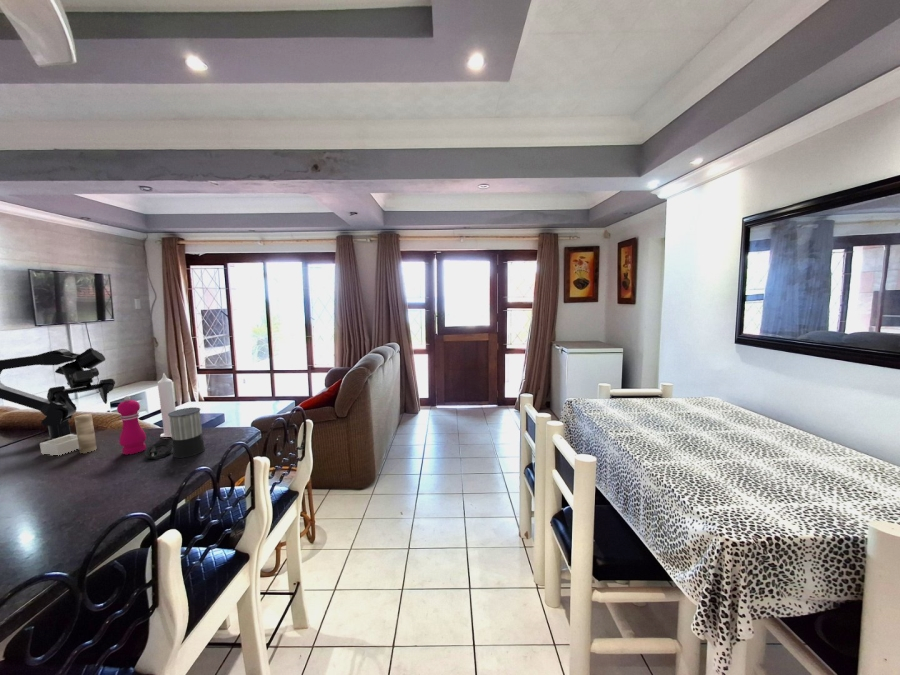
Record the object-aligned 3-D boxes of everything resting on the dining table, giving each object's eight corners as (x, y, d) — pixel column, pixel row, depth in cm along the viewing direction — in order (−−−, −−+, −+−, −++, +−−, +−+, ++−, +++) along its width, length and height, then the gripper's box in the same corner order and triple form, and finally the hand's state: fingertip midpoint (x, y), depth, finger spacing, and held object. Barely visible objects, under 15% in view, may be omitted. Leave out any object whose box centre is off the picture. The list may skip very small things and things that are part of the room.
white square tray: (41, 454, 132) (39, 443, 131) (72, 444, 140) (70, 434, 140) (58, 456, 129) (56, 445, 129) (88, 445, 138) (87, 435, 137)
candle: (186, 432, 148) (179, 371, 145) (168, 439, 142) (160, 375, 139) (174, 431, 151) (166, 370, 148) (155, 437, 144) (147, 374, 141)
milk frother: (208, 451, 128) (204, 410, 127) (151, 468, 117) (145, 423, 115) (197, 441, 138) (192, 403, 136) (143, 456, 126) (137, 414, 125)
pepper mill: (153, 447, 134) (145, 393, 132) (134, 455, 127) (126, 399, 125) (135, 446, 135) (127, 393, 133) (115, 455, 128) (107, 399, 126)
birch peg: (76, 453, 131) (71, 417, 130) (91, 447, 136) (86, 413, 134) (85, 453, 130) (79, 418, 129) (100, 448, 135) (94, 414, 133)
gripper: (45, 366, 135) (60, 399, 131) (110, 358, 152) (126, 387, 148) (40, 385, 140) (55, 417, 136) (104, 376, 156) (119, 404, 152)
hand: (90, 406), depth 143 cm, fingers open, 9 cm apart
